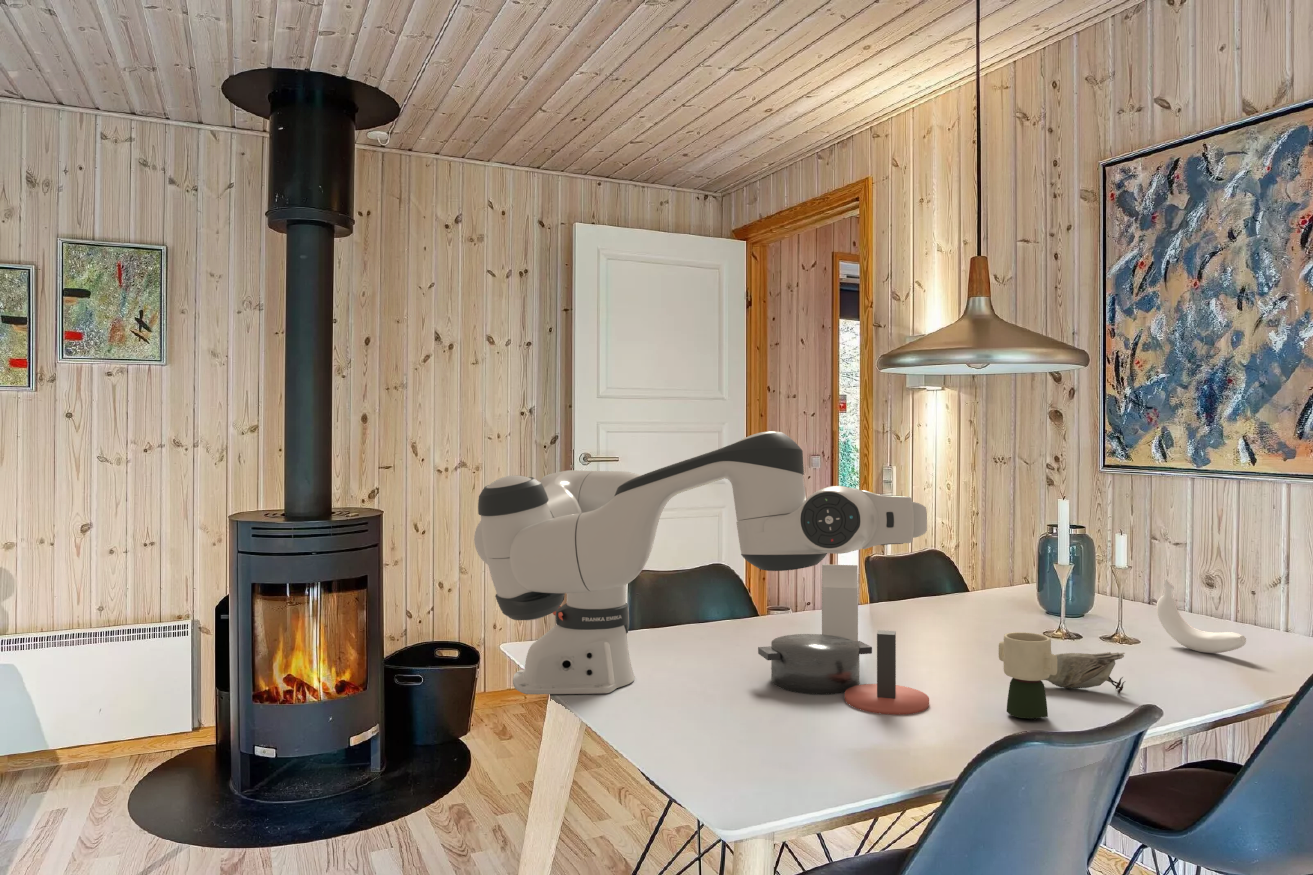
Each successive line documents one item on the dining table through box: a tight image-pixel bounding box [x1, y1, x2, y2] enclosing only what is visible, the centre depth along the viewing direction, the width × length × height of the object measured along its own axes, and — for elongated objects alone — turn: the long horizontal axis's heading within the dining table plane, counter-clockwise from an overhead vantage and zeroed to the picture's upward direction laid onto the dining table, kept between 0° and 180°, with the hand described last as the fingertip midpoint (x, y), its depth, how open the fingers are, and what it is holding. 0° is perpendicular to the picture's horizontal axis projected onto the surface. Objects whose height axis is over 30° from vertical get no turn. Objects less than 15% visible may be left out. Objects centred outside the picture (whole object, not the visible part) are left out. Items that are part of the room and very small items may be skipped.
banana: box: [1156, 577, 1247, 654], centre depth 185 cm, size 5×19×15 cm, turn 28°
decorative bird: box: [1044, 651, 1126, 695], centre depth 158 cm, size 5×16×8 cm, turn 69°
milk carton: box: [821, 563, 859, 641], centre depth 181 cm, size 7×7×19 cm
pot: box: [757, 633, 873, 696], centre depth 163 cm, size 20×16×7 cm
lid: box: [844, 629, 930, 716], centre depth 151 cm, size 14×14×12 cm
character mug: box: [998, 631, 1057, 721], centre depth 143 cm, size 11×7×13 cm, turn 29°
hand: (861, 519), depth 136 cm, fingers open, 8 cm apart
